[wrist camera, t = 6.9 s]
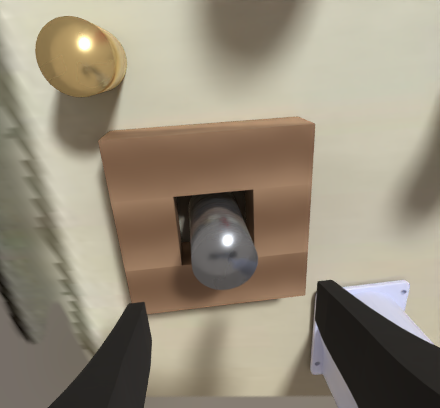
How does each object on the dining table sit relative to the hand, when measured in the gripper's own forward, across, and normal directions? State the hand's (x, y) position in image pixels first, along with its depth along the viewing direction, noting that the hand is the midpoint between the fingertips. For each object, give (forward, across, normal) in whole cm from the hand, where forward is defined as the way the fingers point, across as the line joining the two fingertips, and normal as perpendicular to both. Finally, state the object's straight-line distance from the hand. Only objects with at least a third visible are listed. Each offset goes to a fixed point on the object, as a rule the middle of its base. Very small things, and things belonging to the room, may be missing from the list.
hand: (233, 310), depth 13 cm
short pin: (+10, +6, -10) cm, 16 cm away
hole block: (+10, 0, 0) cm, 10 cm away
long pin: (+10, 0, 0) cm, 10 cm away
